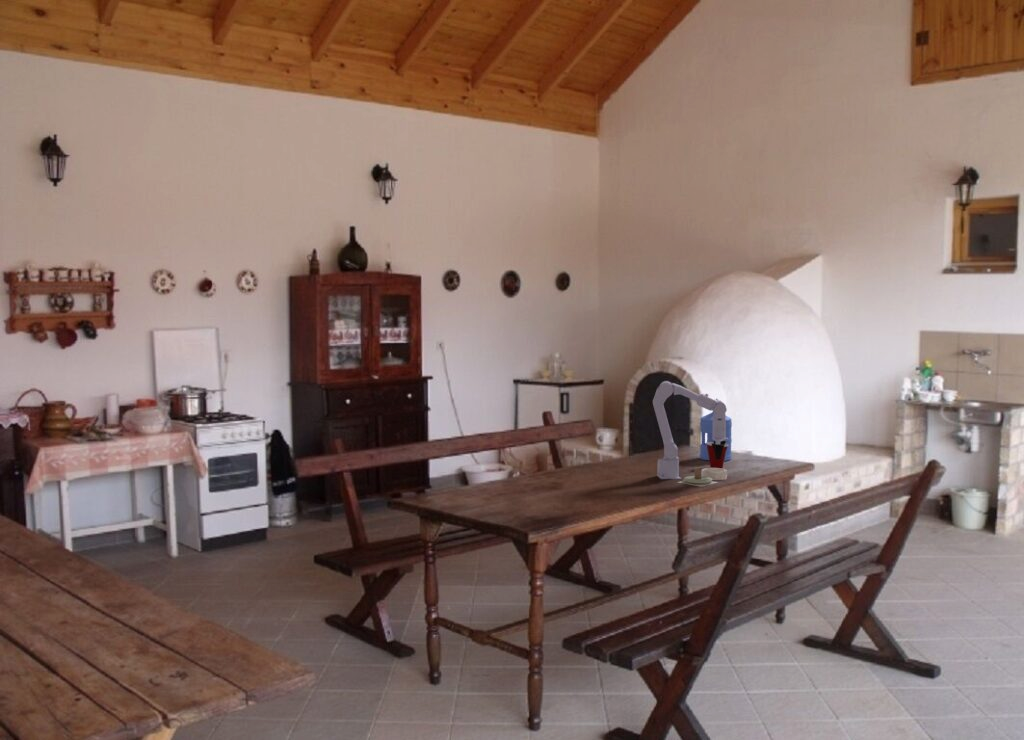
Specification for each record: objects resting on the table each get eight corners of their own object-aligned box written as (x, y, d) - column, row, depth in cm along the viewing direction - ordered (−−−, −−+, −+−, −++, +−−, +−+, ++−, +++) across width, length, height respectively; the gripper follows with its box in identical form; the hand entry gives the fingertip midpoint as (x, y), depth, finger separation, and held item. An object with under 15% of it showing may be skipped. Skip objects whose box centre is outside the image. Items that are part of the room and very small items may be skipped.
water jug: (726, 456, 477) (726, 402, 475) (735, 461, 462) (735, 405, 460) (696, 456, 476) (696, 402, 474) (704, 462, 461) (705, 406, 459)
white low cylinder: (705, 481, 414) (705, 472, 413) (698, 476, 425) (699, 468, 424) (729, 480, 414) (729, 472, 414) (722, 476, 425) (722, 467, 425)
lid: (687, 485, 403) (687, 471, 403) (680, 479, 415) (680, 466, 415) (715, 484, 404) (715, 470, 404) (707, 479, 416) (707, 465, 416)
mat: (701, 487, 401) (701, 486, 401) (676, 483, 410) (676, 482, 410) (718, 483, 409) (718, 482, 409) (694, 479, 419) (694, 478, 419)
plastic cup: (730, 469, 440) (731, 444, 439) (707, 469, 441) (708, 445, 440) (725, 465, 451) (726, 441, 450) (703, 465, 451) (703, 441, 450)
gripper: (727, 430, 409) (726, 461, 410) (729, 426, 423) (728, 455, 424) (711, 430, 411) (710, 460, 412) (713, 425, 425) (712, 454, 426)
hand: (718, 457), depth 418 cm, fingers open, 7 cm apart
